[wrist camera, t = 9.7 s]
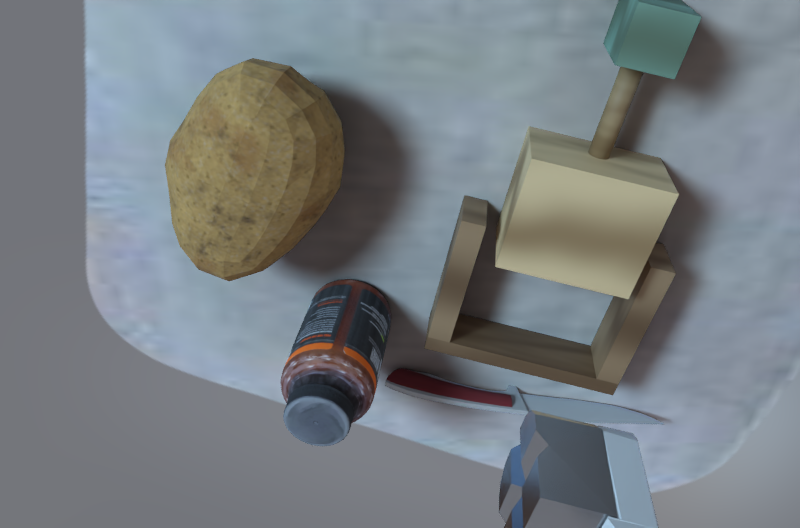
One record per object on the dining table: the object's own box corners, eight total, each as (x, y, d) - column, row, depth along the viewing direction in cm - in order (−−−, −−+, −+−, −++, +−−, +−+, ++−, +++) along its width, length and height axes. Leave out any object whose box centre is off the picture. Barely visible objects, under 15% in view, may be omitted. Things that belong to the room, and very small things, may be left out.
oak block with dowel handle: (577, -26, 35) (587, -9, 30) (726, 10, 35) (757, 31, 30) (496, 226, 43) (495, 266, 39) (616, 255, 43) (628, 299, 39)
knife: (388, 373, 51) (382, 400, 48) (389, 360, 50) (383, 387, 48) (656, 411, 49) (665, 441, 47) (661, 399, 49) (670, 429, 46)
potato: (174, 201, 45) (116, 261, 38) (235, 7, 38) (177, 39, 31) (305, 262, 46) (271, 331, 40) (388, 86, 39) (364, 133, 32)
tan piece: (464, 195, 42) (461, 220, 39) (663, 244, 42) (675, 273, 39) (429, 317, 47) (424, 348, 44) (605, 361, 47) (612, 395, 44)
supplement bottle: (296, 310, 49) (245, 420, 39) (344, 260, 46) (302, 365, 36) (360, 355, 50) (326, 473, 40) (410, 310, 47) (386, 424, 38)
